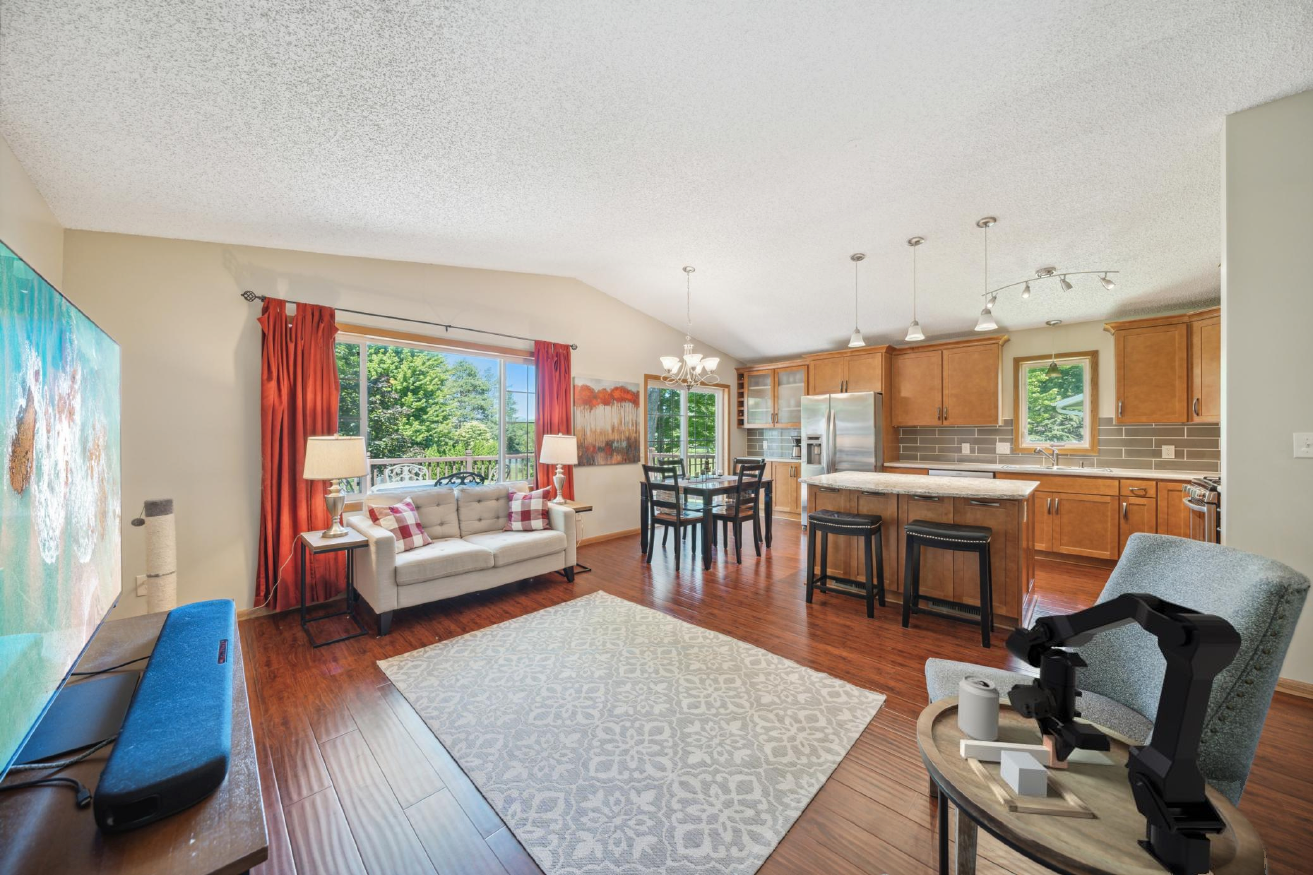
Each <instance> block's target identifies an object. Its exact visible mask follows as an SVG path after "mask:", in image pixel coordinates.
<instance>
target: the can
mask: <svg viewBox="0 0 1313 875" xmlns="http://www.w3.org/2000/svg"><path fill="white" fill-rule="evenodd" d="M957 712H958V713H957V726H958V728H959V729H960V731H962V732H964V733H963V734H965V736H967V737H968V738H970V739H972V740H976V741H989V742H995V741H996V740H998V739H999V738H998V737H999V725H1000V724H999V723H1000V722H999V716H1000V691H999V690H998V689H997V684H996V683H995V682H994V681H992V680H991V679H989V678H986V677H984V676H981V675H976V674H965V675H963V676H962V679H961V680H960V681H959V683H958V710H957Z"/></svg>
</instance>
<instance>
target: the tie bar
mask: <svg viewBox="0 0 1313 875" xmlns="http://www.w3.org/2000/svg"><path fill="white" fill-rule="evenodd" d="M959 747H960V748H959V750H960V751H959V754H960V756H961V757H962V758H963V759H965V760H968V758H975V759H976V760H977V761H987V762H999V763H1001V750H1003V751H1015V752H1028V753H1029V754H1030V755H1031V756H1033V757H1034V758H1035V759H1036V760H1037V761H1038V762H1039V763H1040V764H1041V765H1042V766H1049V767H1051V768H1060V769H1068V757H1067V759H1066V760H1065V761H1064V762H1059V761H1057V758H1056V749H1055V736H1054V735H1043V740H1042V745H1040V744H1039V745H1037V744H1024V743H1013V742H1012V743H1011V742H999V741H992V742H989V741H977V740H974V739H972V740H971V739H964V738H963V739H962V738H961V739H960V743H959Z"/></svg>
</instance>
